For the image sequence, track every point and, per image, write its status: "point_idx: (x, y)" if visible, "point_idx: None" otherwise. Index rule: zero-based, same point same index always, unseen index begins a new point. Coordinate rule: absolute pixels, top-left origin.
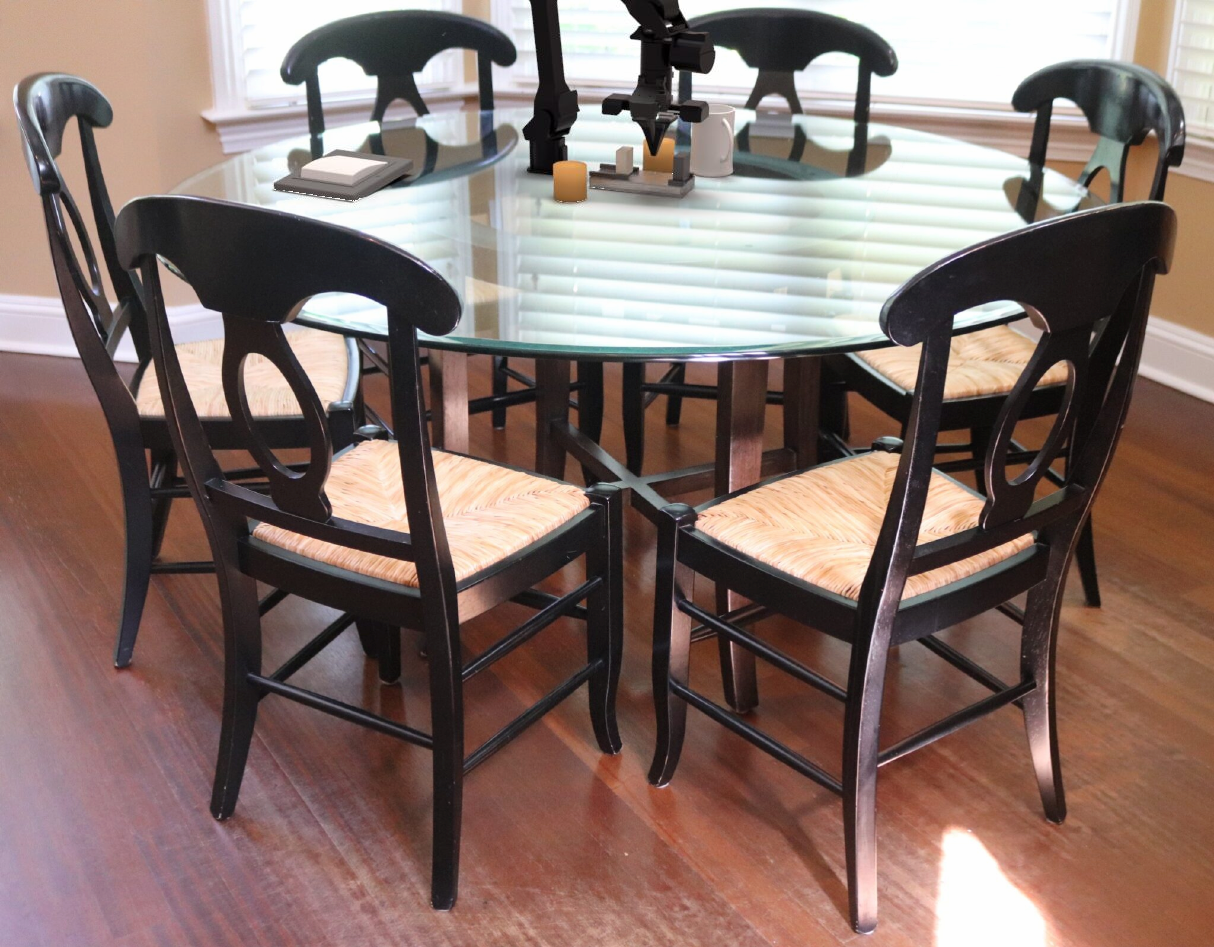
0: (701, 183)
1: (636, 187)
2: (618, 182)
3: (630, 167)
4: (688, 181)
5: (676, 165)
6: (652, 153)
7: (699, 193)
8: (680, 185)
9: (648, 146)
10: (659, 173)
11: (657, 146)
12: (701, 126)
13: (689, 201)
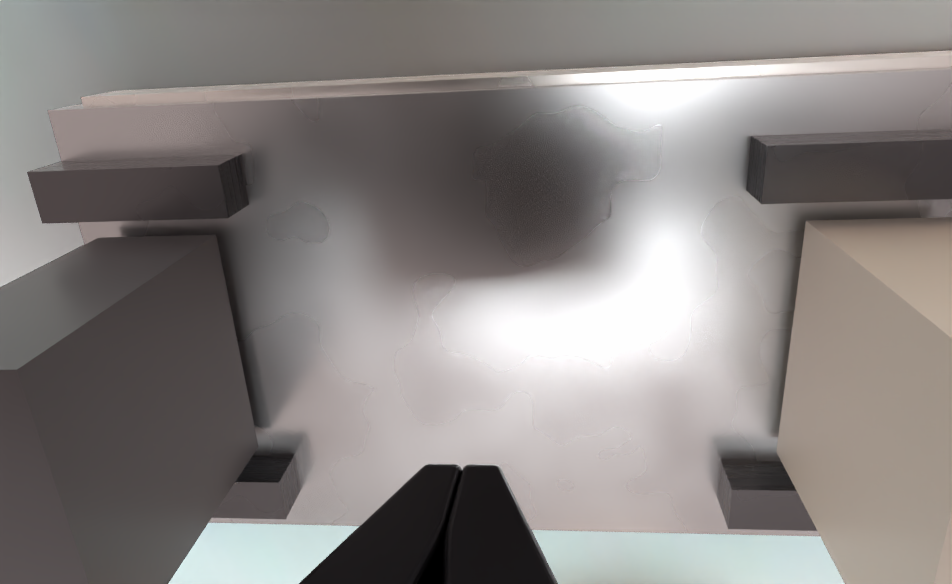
0: (205, 551)
1: (606, 68)
2: (860, 62)
3: (809, 408)
4: None
5: (54, 307)
6: (466, 481)
7: None
8: (93, 158)
9: (534, 553)
10: None
11: (326, 561)
12: None
13: (10, 25)
